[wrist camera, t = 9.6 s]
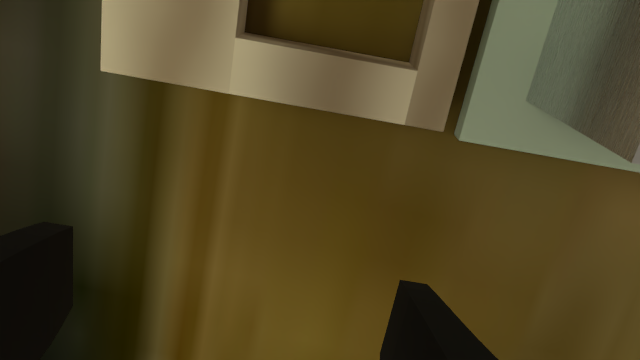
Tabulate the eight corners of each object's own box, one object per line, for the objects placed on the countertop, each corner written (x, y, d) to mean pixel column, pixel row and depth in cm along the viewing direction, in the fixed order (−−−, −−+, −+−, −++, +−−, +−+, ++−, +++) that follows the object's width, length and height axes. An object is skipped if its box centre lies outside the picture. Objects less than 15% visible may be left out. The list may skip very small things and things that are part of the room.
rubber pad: (454, 134, 20) (458, 140, 19) (527, -125, 17) (536, -130, 16) (671, 173, 20) (684, 180, 20) (783, -72, 17) (804, -75, 17)
